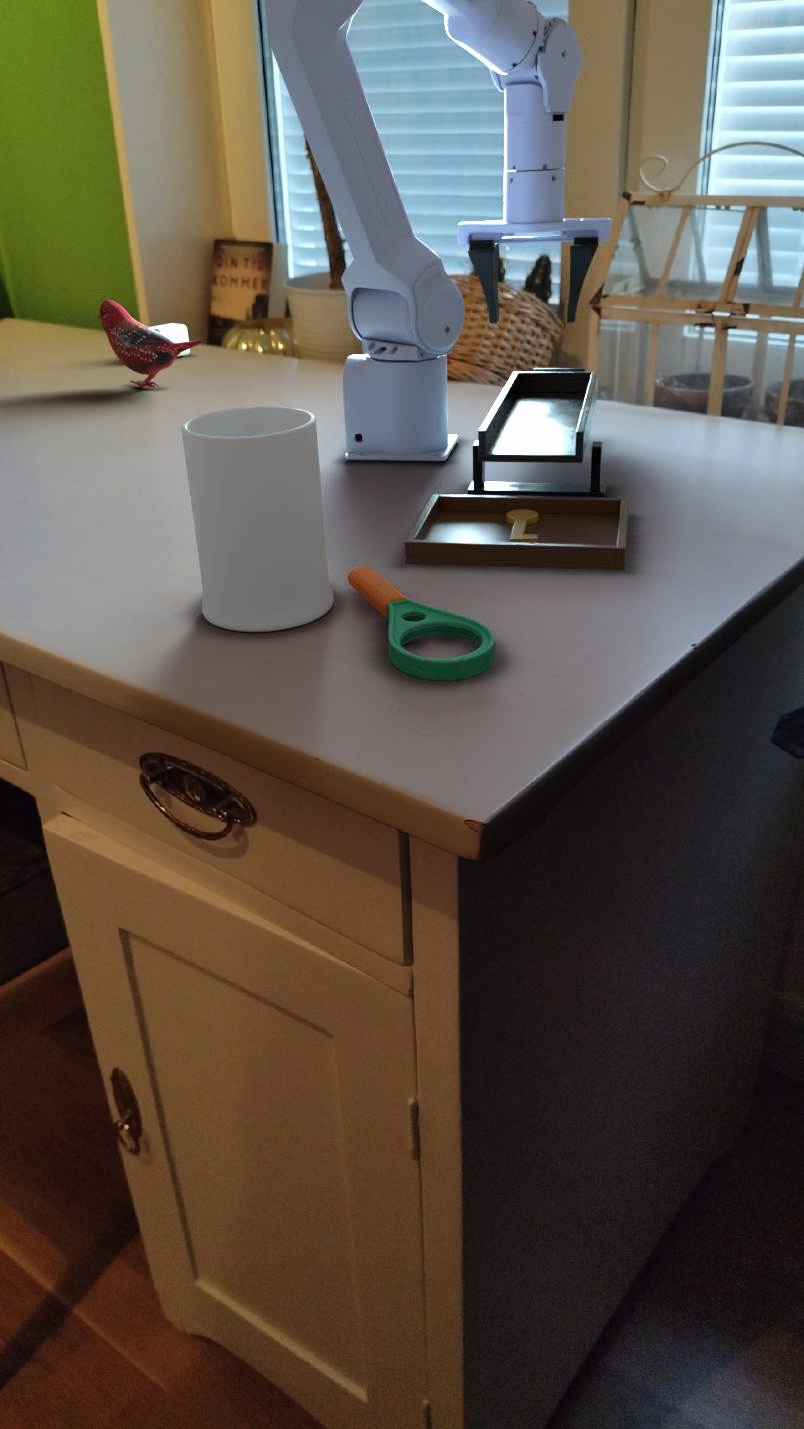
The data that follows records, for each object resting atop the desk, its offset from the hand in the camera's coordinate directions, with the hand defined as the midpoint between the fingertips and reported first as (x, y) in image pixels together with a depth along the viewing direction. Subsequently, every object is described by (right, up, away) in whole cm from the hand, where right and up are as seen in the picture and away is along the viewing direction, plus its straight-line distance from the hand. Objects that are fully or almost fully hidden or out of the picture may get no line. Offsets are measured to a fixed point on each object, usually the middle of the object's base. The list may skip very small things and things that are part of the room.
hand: (532, 321), depth 110 cm
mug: (-22, -32, -37) cm, 53 cm away
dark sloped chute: (0, -13, -13) cm, 18 cm away
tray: (-4, -26, -29) cm, 39 cm away
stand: (-2, -21, -18) cm, 28 cm away
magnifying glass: (-13, -34, -42) cm, 56 cm away
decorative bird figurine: (-43, +1, +25) cm, 50 cm away
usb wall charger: (-46, +12, +41) cm, 63 cm away
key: (-4, -25, -28) cm, 38 cm away
